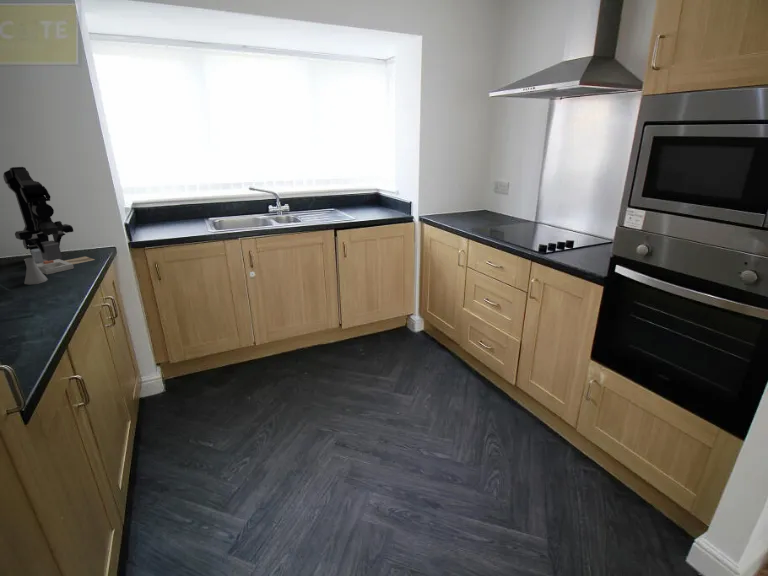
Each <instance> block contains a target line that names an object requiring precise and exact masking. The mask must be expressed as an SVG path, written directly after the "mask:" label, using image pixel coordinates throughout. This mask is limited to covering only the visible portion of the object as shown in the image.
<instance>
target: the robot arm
mask: <svg viewBox="0 0 768 576" xmlns="http://www.w3.org/2000/svg"><path fill="white" fill-rule="evenodd" d="M2 177H3V181H4V183H5V184H6V185H7V187H8V189H9V190H10V191H12V192H13V193H14V195H15V197H16V201H17V204H18V207H19V211H20V214H21V217H22V220H23V223H24V228H23V230H17V231H15V233H14V236H15V239H17V240H19V241H22V245H23V247H24V248H25V250H29V252H30V255H31V258H33V257H32V254H31V251H30V250H33V249H38V248H39V250H40V251H41V252H42V253H44V250H43V247H42V245H41V242H46V241H50V238H49V236H52V238H53V241H55V242H58V243H59V248H60V246H61V239H62V237H64V236H65V235H66V233H67V234H69V233H73V232H74V228H73V226H72V225H70V224H67V223H64V224H63V223H62V221H60V220H58V221H57V220H56V221H53V219H52V216H54V213H55V210H54V208H53V207H52V206H51V205H50V204H48V203H47V202H50V201H51V195H50V192H49V191H48V189H47V188H46V187H45V185H42V183H41V182H40V181H35V180H34V179H33V178H32V177H31V176H30V173H29V171H28V170H27V169H26V167H25V166H14V167H10V168H9V169H8V170H6V171H4V172H3V176H2Z"/></svg>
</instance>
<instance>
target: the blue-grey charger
mask: <svg viewBox="0 0 768 576" xmlns="http://www.w3.org/2000/svg"><path fill="white" fill-rule="evenodd" d="M30 251H31V252H30ZM29 252H30V255H31V254H32V256H31V258H32V257H33V258H35V262H36V263H43V261H47V260H45V259H43V258H42V254H41V251H40V250H39V248H38V249H33V250H30V249H29Z"/></svg>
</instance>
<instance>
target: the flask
mask: <svg viewBox="0 0 768 576" xmlns="http://www.w3.org/2000/svg"><path fill="white" fill-rule="evenodd" d="M23 261H24V262H26V263H25V266H26V271H25V276H24V277H25V278H24V285H38V284H41V283H45V282H48V280H49V278H48V277H47V276H46V274H44V273H42V272H41V271H40V269H39V268H38V267H37V265H36V263H35V258H32V257H27V258H24V259H23Z"/></svg>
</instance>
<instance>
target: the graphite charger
mask: <svg viewBox="0 0 768 576" xmlns="http://www.w3.org/2000/svg"><path fill="white" fill-rule="evenodd" d="M41 245H42V247H43V250H44V253H42V252H41V254H42V258H43V259H45V260H47V261H51V260H56V259H60V260H62V259H63V256H62V252H61V248H60V247H59V243H58V242H55V241H54V240H49V241H46V242H41Z"/></svg>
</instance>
